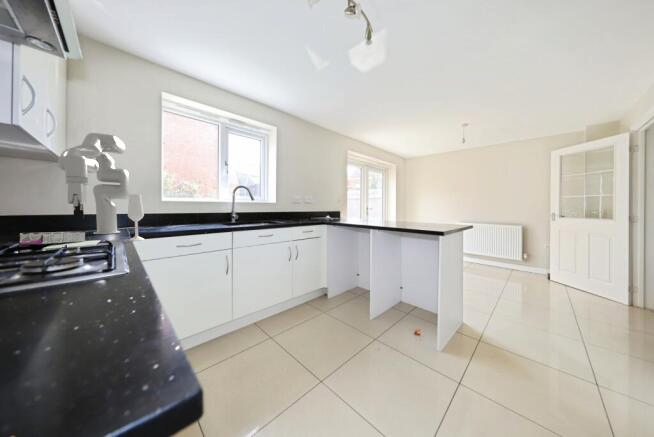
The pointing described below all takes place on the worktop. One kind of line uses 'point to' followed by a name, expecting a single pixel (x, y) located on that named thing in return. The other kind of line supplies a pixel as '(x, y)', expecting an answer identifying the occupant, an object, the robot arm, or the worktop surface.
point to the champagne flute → (135, 212)
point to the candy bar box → (51, 237)
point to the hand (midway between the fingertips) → (78, 218)
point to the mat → (73, 244)
